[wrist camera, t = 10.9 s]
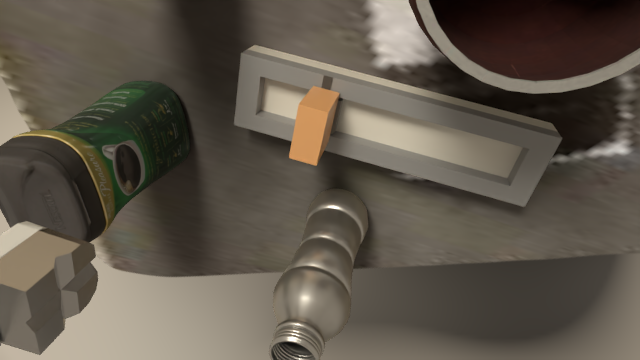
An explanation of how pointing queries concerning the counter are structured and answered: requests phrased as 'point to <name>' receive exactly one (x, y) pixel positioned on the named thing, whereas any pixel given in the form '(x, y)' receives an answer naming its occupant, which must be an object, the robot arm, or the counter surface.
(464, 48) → the mate gourd
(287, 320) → the silver ridged bottle
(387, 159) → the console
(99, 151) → the coffee jar
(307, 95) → the fader knob
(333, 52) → the counter surface
